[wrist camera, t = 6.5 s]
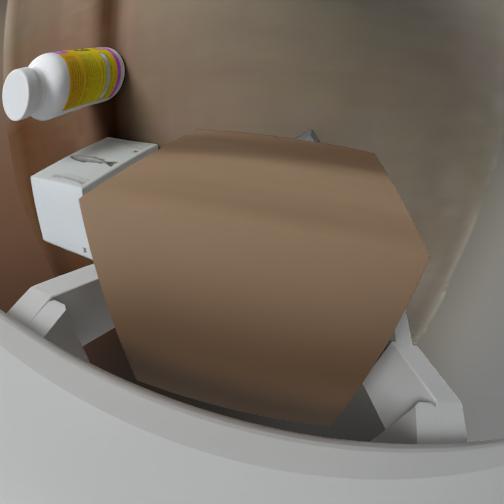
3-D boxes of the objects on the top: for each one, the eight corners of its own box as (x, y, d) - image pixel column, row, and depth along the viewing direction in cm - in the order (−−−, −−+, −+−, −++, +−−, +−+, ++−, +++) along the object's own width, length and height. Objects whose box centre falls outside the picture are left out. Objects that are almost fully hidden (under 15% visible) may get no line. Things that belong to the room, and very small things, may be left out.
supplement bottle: (121, 38, 23) (29, 44, 13) (132, 91, 27) (43, 117, 16) (79, 60, 25) (-8, 78, 15) (90, 108, 29) (6, 141, 18)
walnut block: (197, 129, 8) (78, 199, 4) (374, 153, 7) (429, 256, 3) (200, 267, 11) (137, 379, 7) (338, 293, 10) (331, 426, 6)
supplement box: (160, 142, 30) (83, 189, 20) (157, 201, 34) (94, 264, 24) (107, 134, 30) (28, 175, 20) (109, 189, 35) (42, 242, 24)
